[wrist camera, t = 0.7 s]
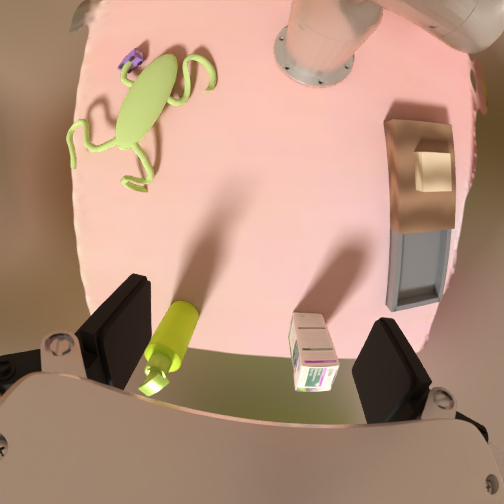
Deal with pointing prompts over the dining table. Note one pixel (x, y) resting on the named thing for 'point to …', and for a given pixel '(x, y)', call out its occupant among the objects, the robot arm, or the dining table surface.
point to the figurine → (142, 107)
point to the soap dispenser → (168, 345)
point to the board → (403, 176)
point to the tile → (432, 171)
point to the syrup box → (312, 353)
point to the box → (417, 268)
